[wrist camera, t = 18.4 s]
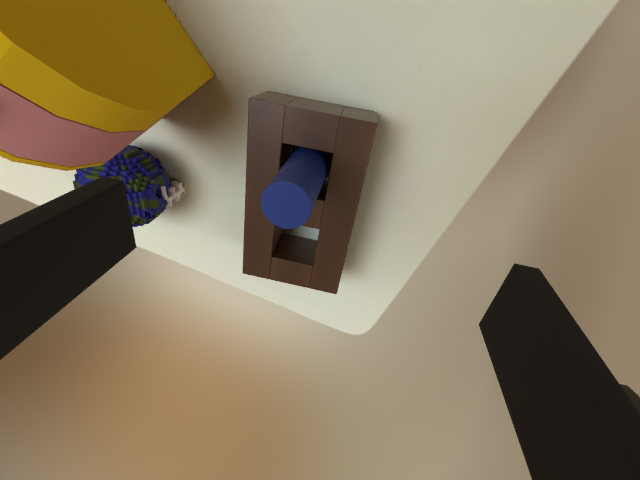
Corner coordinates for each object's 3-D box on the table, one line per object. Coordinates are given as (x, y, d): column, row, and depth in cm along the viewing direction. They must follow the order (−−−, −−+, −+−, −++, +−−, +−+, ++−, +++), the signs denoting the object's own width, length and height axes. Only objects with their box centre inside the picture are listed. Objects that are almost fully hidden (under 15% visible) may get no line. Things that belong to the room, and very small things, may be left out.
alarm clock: (50, -14, 28) (-350, -87, 13) (105, -88, 25) (-337, -303, 10) (169, 137, 34) (-10, 215, 18) (227, 92, 31) (70, 141, 15)
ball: (178, 145, 34) (131, 168, 28) (187, 210, 38) (148, 244, 32) (107, 134, 35) (45, 155, 28) (123, 199, 39) (72, 231, 32)
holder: (377, 112, 30) (377, 123, 25) (340, 267, 39) (336, 294, 35) (266, 90, 30) (248, 98, 26) (256, 249, 39) (242, 273, 35)
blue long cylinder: (335, 141, 31) (315, 187, 21) (329, 176, 33) (307, 234, 23) (299, 134, 32) (261, 176, 21) (294, 169, 34) (258, 223, 23)
